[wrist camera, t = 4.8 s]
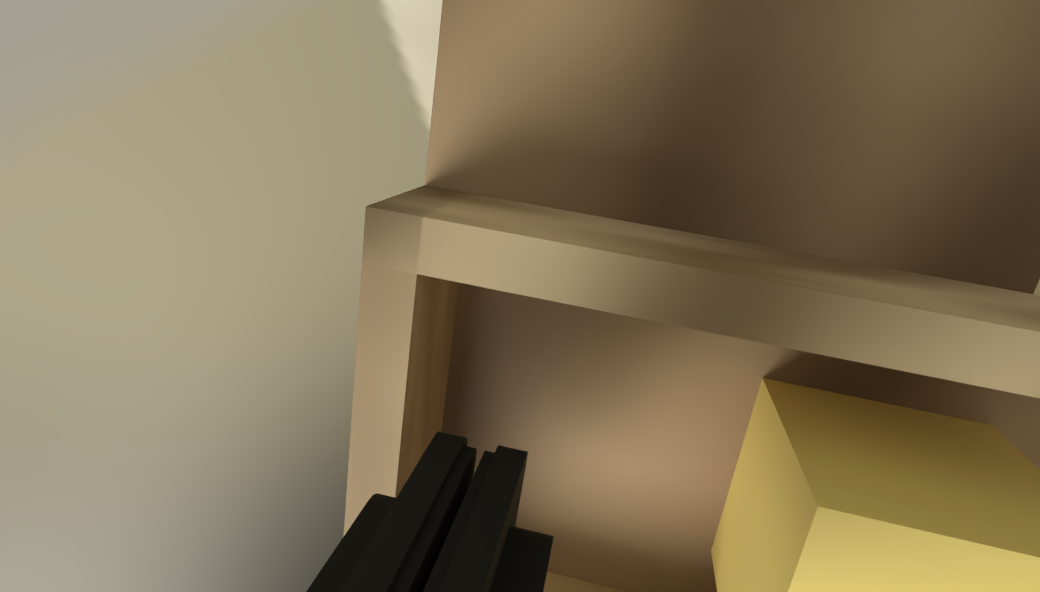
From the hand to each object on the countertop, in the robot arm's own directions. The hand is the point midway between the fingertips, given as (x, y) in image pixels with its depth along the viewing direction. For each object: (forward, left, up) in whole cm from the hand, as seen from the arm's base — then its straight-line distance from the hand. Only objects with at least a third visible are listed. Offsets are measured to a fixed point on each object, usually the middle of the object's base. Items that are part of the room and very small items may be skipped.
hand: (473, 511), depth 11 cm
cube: (-7, 0, -4) cm, 8 cm away
